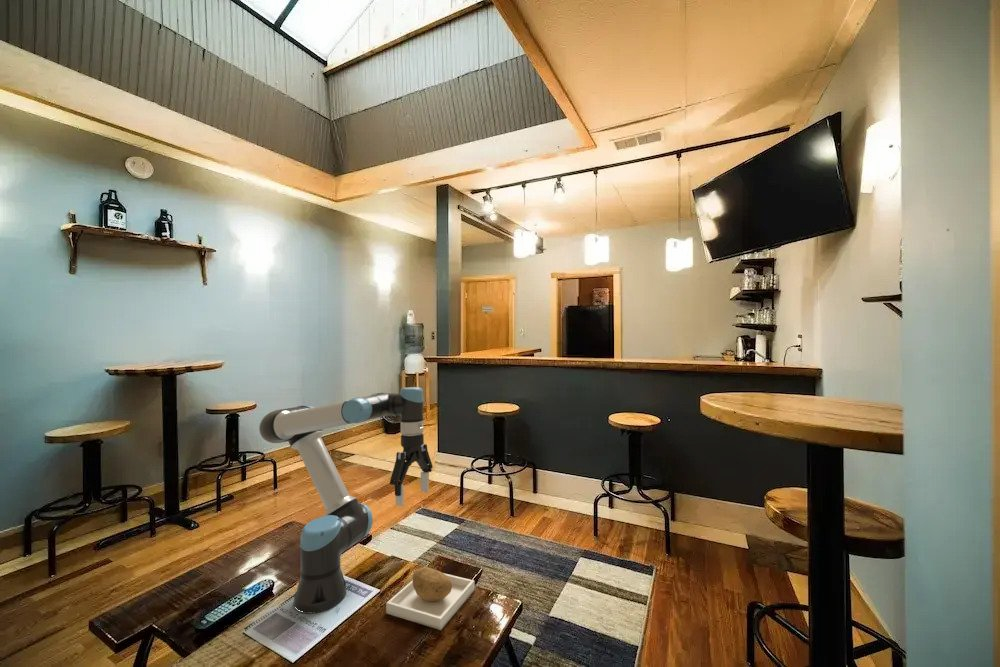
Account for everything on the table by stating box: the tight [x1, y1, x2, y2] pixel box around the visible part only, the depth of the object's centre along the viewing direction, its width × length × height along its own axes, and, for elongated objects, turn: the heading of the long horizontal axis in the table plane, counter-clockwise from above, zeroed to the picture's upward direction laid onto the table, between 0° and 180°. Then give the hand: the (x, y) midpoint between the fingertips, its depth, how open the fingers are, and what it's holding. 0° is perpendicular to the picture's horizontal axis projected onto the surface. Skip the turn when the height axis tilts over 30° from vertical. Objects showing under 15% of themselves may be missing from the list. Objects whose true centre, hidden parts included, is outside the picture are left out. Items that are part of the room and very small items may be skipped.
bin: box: [385, 572, 476, 631], centre depth 122 cm, size 19×20×3 cm
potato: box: [412, 566, 452, 602], centre depth 122 cm, size 10×14×8 cm
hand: (412, 498), depth 131 cm, fingers open, 13 cm apart
